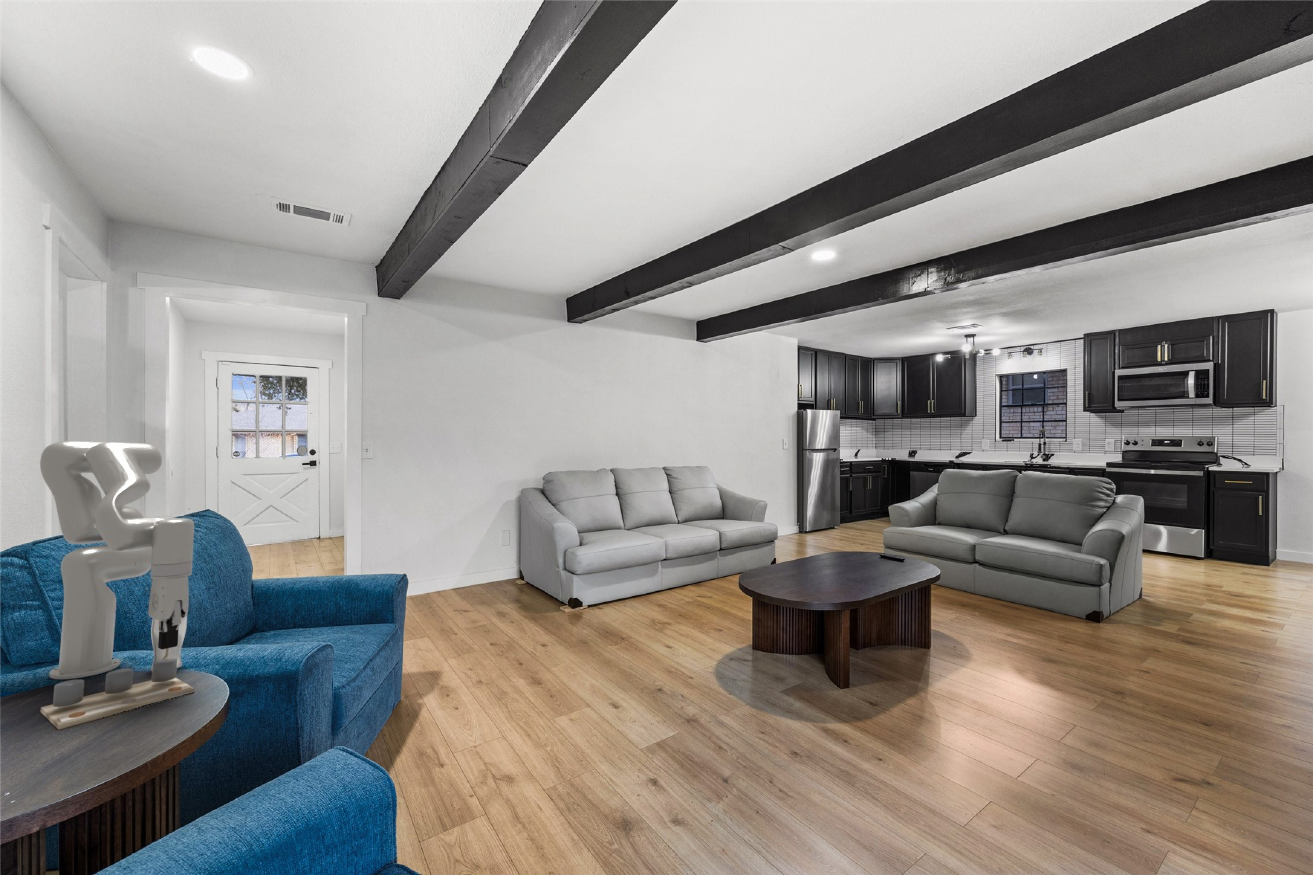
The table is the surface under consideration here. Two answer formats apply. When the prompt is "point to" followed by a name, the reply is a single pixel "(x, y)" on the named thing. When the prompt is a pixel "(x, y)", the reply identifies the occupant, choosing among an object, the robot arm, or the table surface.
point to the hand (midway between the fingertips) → (167, 647)
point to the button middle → (119, 681)
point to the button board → (113, 702)
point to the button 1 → (68, 693)
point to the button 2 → (164, 670)
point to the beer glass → (169, 652)
